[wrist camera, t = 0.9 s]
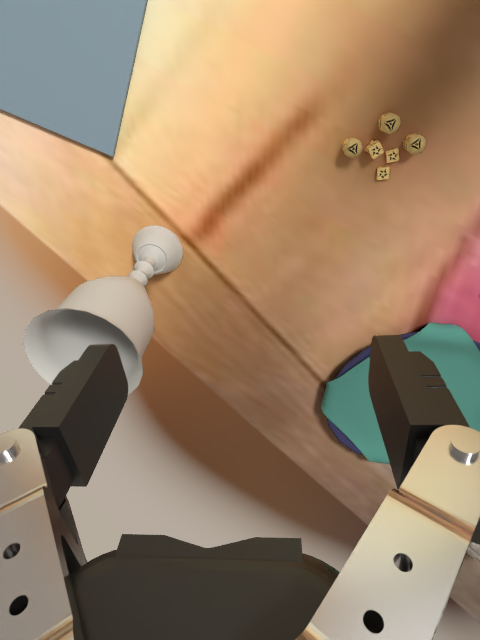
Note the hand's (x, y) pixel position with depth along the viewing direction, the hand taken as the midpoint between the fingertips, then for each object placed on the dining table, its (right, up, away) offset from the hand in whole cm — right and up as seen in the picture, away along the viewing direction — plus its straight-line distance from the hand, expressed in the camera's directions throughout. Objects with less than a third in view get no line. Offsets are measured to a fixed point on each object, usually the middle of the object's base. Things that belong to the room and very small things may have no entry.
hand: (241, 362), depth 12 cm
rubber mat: (-15, +24, +18) cm, 33 cm away
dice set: (+12, +17, +21) cm, 29 cm away
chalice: (-8, +8, +27) cm, 29 cm away
